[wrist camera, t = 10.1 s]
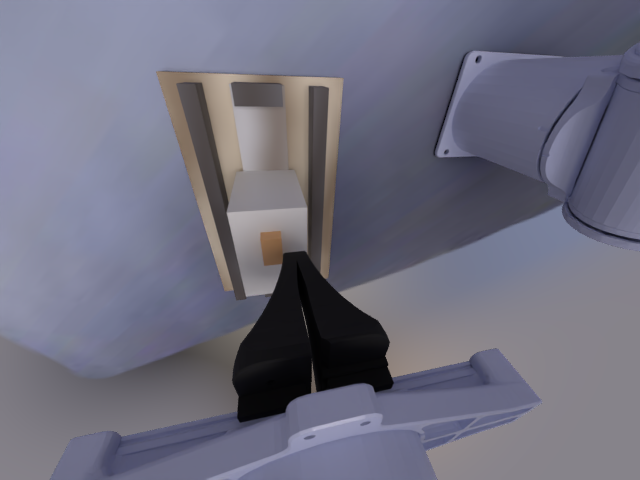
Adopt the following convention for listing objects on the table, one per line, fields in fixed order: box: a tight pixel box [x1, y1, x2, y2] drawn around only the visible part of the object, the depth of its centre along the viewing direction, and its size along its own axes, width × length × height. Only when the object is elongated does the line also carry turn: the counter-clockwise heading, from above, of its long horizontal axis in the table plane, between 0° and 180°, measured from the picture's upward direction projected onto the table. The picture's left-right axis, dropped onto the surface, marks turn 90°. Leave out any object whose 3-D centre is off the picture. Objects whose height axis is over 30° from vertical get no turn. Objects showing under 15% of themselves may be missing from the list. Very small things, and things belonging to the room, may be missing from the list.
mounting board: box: [156, 71, 343, 300], centre depth 21 cm, size 12×20×3 cm, turn 179°
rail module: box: [227, 170, 307, 297], centre depth 17 cm, size 4×7×7 cm, turn 179°
